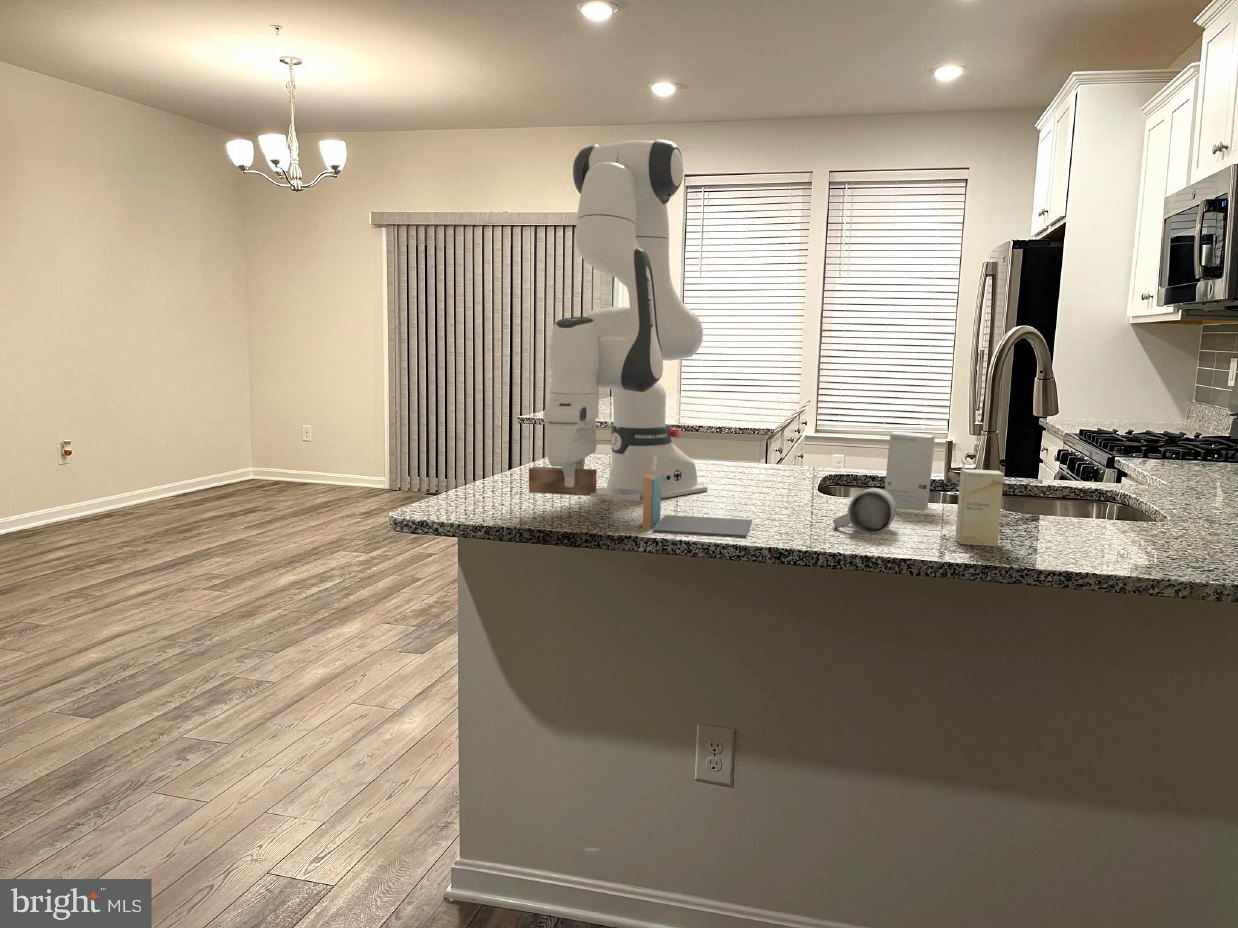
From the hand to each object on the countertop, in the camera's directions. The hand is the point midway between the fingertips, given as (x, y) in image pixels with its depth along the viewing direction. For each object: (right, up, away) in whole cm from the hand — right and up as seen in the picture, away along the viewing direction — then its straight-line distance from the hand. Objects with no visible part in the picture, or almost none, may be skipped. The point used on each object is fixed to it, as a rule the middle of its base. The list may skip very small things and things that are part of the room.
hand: (573, 484), depth 164 cm
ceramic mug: (+52, -8, -5) cm, 52 cm away
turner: (+2, -2, 0) cm, 3 cm away
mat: (+23, -7, -4) cm, 25 cm away
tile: (+14, -7, -2) cm, 16 cm away
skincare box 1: (+66, -5, +17) cm, 68 cm away
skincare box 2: (+68, -10, -14) cm, 70 cm away
